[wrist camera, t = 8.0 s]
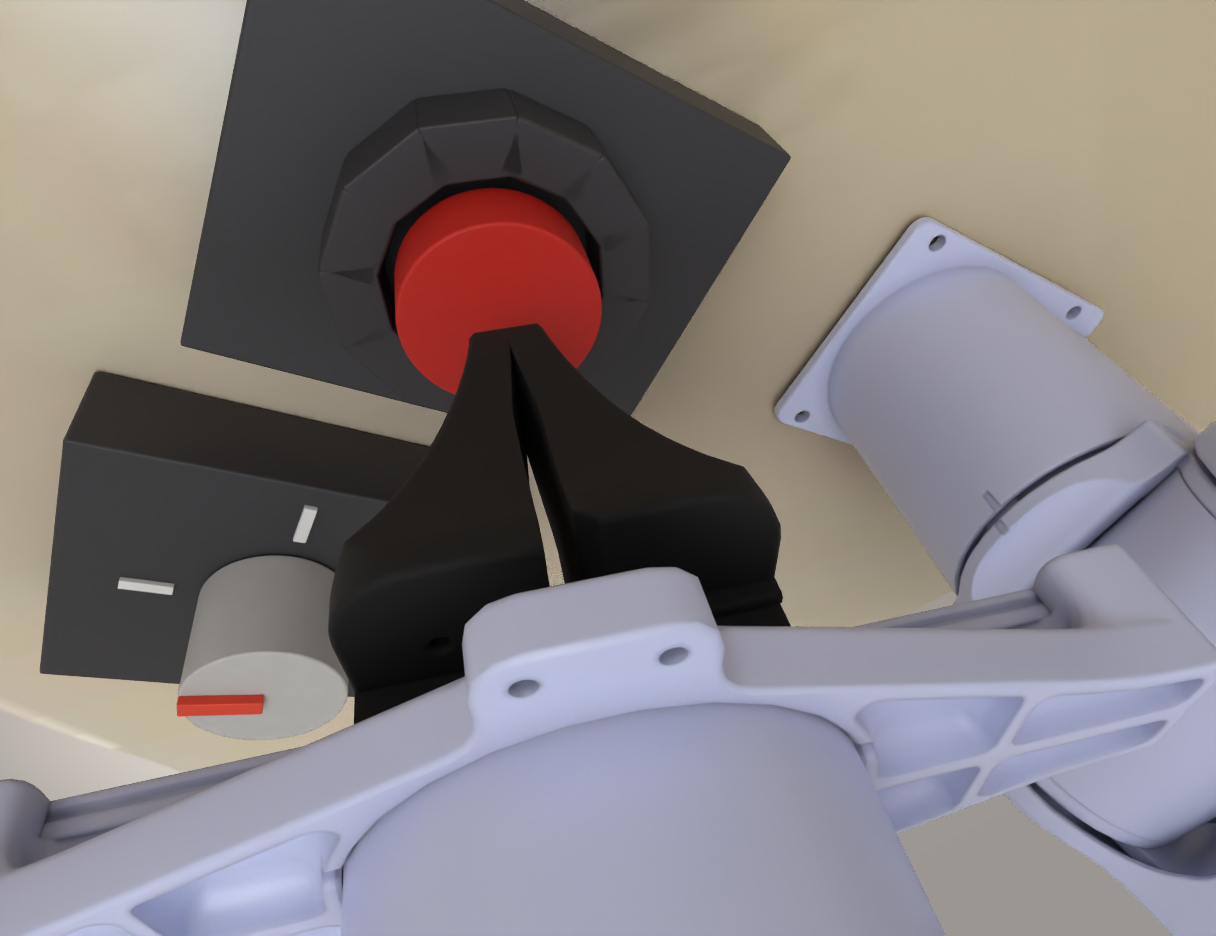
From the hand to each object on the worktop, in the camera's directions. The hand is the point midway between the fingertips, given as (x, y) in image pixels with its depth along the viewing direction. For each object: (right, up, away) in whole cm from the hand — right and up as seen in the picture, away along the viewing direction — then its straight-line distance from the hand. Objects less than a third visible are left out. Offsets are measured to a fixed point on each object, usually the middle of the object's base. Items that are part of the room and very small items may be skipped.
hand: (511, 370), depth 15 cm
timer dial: (-9, -6, +9) cm, 14 cm away
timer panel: (-9, -4, +11) cm, 15 cm away
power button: (-1, +2, +3) cm, 4 cm away
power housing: (-2, +5, +5) cm, 7 cm away
